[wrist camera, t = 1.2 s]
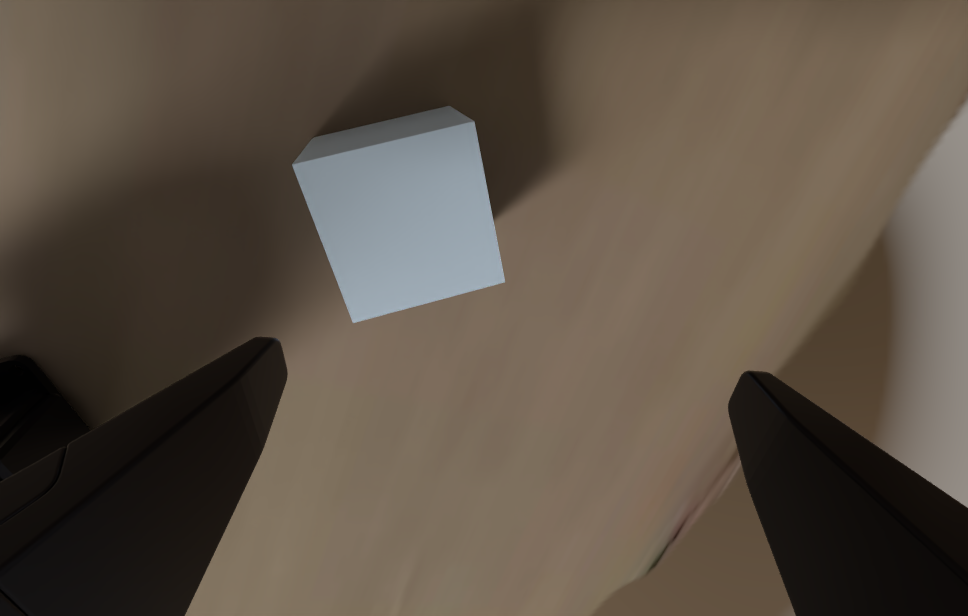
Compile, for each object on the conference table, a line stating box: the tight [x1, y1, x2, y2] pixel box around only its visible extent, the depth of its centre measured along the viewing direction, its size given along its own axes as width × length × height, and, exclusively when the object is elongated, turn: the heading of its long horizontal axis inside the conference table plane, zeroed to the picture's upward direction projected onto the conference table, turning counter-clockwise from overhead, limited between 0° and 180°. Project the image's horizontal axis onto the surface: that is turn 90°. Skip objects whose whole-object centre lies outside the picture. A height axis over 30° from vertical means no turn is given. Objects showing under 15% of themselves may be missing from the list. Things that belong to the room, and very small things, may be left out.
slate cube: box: [292, 106, 505, 323], centre depth 18 cm, size 6×6×6 cm
